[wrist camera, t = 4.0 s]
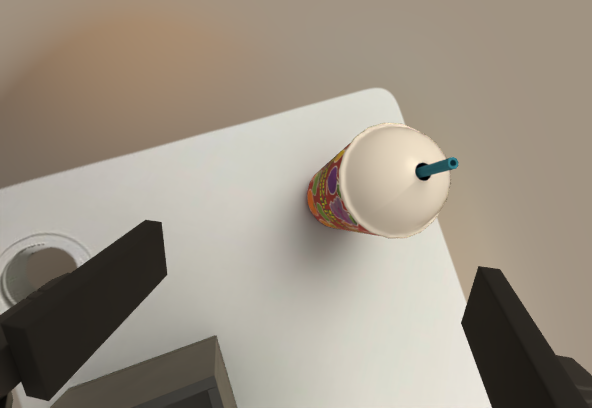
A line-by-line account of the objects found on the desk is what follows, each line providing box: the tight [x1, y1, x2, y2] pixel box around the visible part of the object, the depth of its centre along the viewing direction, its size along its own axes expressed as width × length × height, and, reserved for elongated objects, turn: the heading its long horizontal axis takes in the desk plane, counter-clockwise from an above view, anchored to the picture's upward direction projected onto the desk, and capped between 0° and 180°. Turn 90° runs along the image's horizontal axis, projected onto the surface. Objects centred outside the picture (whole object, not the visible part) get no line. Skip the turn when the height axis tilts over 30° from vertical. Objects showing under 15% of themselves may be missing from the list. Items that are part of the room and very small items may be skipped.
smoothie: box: [307, 123, 458, 238], centre depth 28 cm, size 8×8×20 cm
